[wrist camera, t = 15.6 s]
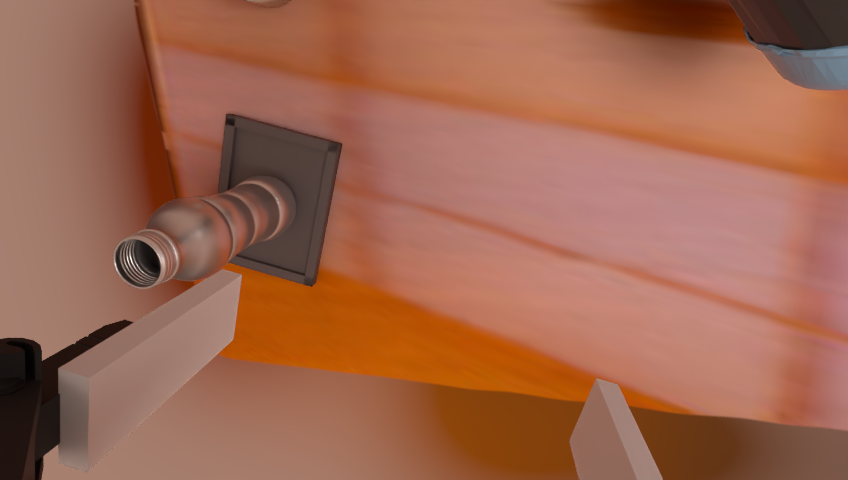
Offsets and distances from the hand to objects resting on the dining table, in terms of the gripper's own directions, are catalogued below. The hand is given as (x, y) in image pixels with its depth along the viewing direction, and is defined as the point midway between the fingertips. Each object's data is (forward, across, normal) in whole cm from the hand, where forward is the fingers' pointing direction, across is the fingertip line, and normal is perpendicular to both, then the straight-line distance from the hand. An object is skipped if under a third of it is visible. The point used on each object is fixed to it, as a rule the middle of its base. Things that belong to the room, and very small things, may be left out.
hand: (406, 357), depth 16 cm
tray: (+32, -19, -6) cm, 37 cm away
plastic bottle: (+31, -19, -6) cm, 37 cm away
